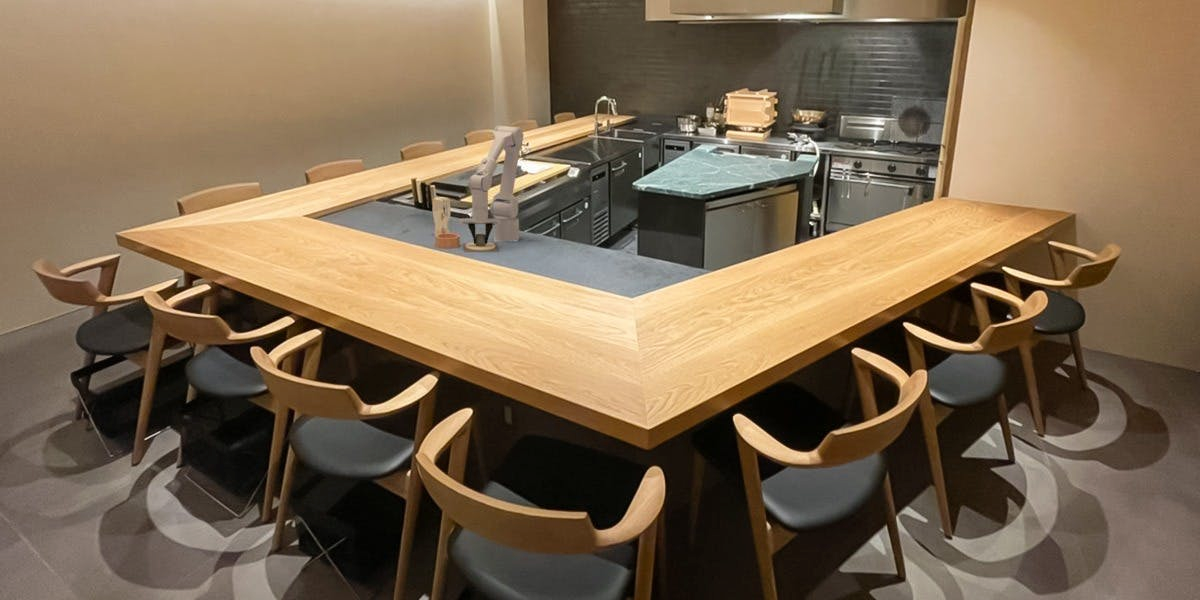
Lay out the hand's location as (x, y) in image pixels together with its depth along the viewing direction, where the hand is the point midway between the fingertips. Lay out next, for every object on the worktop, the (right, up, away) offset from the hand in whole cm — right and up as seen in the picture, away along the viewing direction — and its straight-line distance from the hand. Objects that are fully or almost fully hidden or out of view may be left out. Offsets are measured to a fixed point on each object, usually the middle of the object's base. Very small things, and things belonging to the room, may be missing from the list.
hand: (480, 243), depth 251 cm
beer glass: (-19, +4, +18) cm, 26 cm away
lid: (0, -1, 0) cm, 2 cm away
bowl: (-13, -1, +2) cm, 13 cm away
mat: (0, -2, +1) cm, 2 cm away
